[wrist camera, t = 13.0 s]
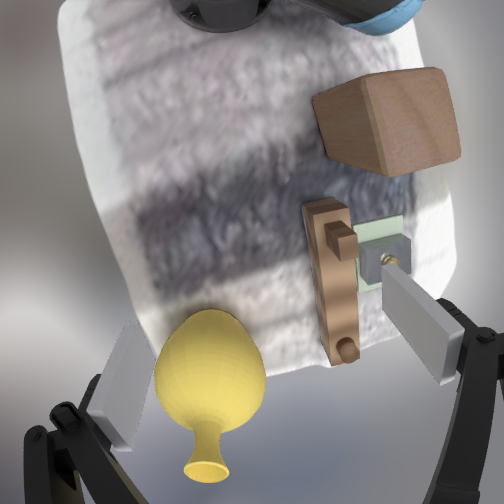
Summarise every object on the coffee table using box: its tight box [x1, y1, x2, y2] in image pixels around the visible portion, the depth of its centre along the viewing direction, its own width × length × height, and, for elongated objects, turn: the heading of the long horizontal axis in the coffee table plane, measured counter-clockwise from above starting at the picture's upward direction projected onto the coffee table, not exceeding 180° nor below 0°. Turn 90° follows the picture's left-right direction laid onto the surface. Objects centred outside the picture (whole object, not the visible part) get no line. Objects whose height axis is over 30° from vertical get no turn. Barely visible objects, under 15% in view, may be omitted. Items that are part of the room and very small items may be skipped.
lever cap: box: [358, 233, 411, 286], centre depth 49 cm, size 6×8×5 cm
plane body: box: [301, 197, 360, 366], centre depth 47 cm, size 26×5×13 cm, turn 12°
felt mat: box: [352, 214, 403, 292], centre depth 51 cm, size 12×9×1 cm
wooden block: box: [312, 67, 461, 177], centre depth 35 cm, size 10×10×20 cm
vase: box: [154, 309, 266, 483], centre depth 42 cm, size 16×16×28 cm
